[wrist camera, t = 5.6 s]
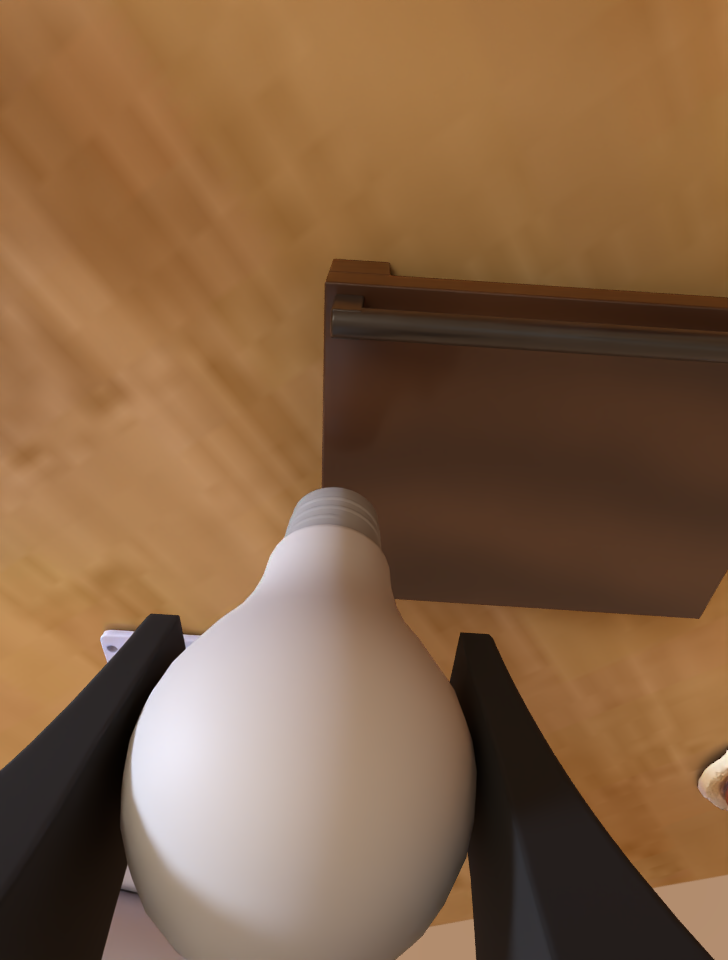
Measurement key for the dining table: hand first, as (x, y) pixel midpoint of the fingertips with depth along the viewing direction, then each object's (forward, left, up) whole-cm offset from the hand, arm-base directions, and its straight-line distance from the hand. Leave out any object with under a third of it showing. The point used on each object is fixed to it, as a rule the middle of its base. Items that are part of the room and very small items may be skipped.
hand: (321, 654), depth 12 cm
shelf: (0, -7, -10) cm, 12 cm away
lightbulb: (0, 0, -6) cm, 6 cm away
